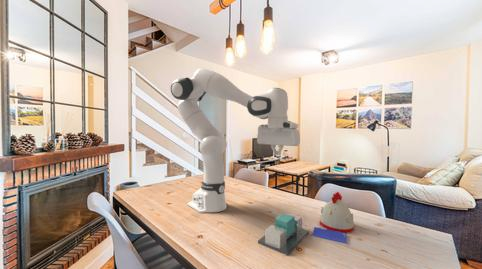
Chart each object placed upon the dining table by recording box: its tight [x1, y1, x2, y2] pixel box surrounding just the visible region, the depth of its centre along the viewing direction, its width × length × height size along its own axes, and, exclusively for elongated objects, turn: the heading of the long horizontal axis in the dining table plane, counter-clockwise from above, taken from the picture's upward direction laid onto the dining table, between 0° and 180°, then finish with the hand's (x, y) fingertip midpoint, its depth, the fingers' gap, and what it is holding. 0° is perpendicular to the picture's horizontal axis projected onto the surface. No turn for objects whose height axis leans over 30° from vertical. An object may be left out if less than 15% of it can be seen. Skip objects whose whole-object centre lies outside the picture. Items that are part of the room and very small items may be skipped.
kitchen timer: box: [319, 191, 355, 234], centre depth 93 cm, size 14×14×15 cm
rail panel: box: [257, 213, 310, 256], centre depth 81 cm, size 12×20×6 cm, turn 142°
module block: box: [274, 212, 295, 238], centre depth 81 cm, size 5×7×6 cm
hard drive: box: [311, 226, 348, 246], centre depth 83 cm, size 2×8×12 cm
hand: (276, 155), depth 93 cm, fingers closed
